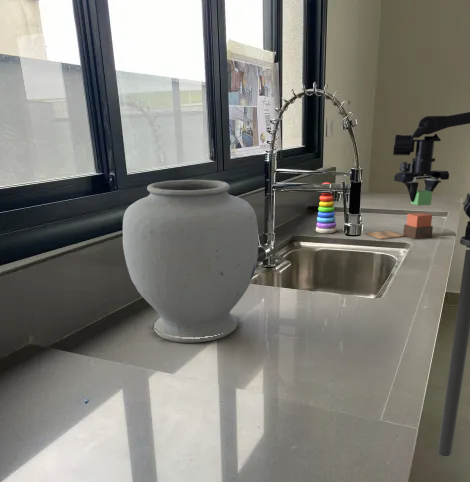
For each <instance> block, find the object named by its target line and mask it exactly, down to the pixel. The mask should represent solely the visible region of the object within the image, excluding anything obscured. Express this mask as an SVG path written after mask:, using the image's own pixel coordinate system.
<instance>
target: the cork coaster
mask: <svg viewBox="0 0 470 482" xmlns="http://www.w3.org/2000/svg"><path fill="white" fill-rule="evenodd" d="M366 235H369V236H371V237H374V238H376V239H379V240H385V239H386V240H387V239H397V238H404V237H405V238H406V236H405V235H403V234H402V233H399V232H396V231H393V230H381V231H372V232H366Z"/></svg>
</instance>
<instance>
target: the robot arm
mask: <svg viewBox="0 0 470 482" xmlns="http://www.w3.org/2000/svg"><path fill="white" fill-rule="evenodd" d="M468 124H470V111H468V112H462V113H461V112H460V113H456V114H451V115H427V116H424V117H422V118H420V119H419V121H418V125H417V128H416V130H414V131H413V132H412V134H395V138H394V144H393V153H392V155H393V156H410V155H411V154H413V153H414V151H415V154H414V157H412V158H411V159H412V160H411V163H408V162H407V161H403V162H400V163H399V172H396V173H395V175H394V176H393V177H394V178H393V181H394V182H398V183H402V184H404V185H405V186H406V188H407V191H408V195H409V198H410V203H411V202H414V200H415V196H416V192H417V190H418V187H419V182H417V180H423V181H424V185H425V187H424V190H427V191H431V192H432V193H433V192H434V191H435V189H436V187H437V186H438V185H439V184H440V183H442V181H446V180H450V172H449V171H448V170H443V169H435V170H433V169H432V167H433V163H434V162H436V158H435V157H434V150H435V142H441V141H442V139H441V138H440V137H439V135H438V134H437V132H440V131H442V130H445V129H448V128H452V127H457V126H464V125H468ZM431 134H433V135H431ZM422 136H423V139H420V138H421V137H422ZM418 138H419V139H418ZM415 143H416V145H415ZM439 179H440V180H439ZM462 205H463V211H464V214H465V215H466V216H467V217H468V218H469V219H468V221H467V222H466V226H465V232H464V236H461V237H462V238H465V239H468V240H470V192H467V194H466V198H465V200H464V201H463V203H462Z"/></svg>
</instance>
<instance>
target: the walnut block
mask: <svg viewBox="0 0 470 482" xmlns="http://www.w3.org/2000/svg"><path fill="white" fill-rule="evenodd" d="M433 229H434V226H433V225H431V226H428V227H418V228H416V227H413V226H409V225H407V223H405V224H404V225H403V234H402V235H405V237H407V238H410V239H413V240H419V239H420V240H421V239H428V238H429V239H430V238H433V231H434V230H433Z"/></svg>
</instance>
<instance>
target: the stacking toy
mask: <svg viewBox="0 0 470 482" xmlns="http://www.w3.org/2000/svg"><path fill="white" fill-rule="evenodd" d="M322 184H332V183H331V182H323V183H322ZM320 194H321V195H320V196H319V203H318V205H319V206H318V208H317V210H318V212H317V218H316V221H317V222H316V227H315V231H316V233H318V234H327V235H328V234H334V233H336V232H337V230H338V229H337V222H336V217H335V215H336V213H335V206H334V205H335V202H334V201H333V200H334V196H333V195H332V194H333V192H332V193H320Z"/></svg>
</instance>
